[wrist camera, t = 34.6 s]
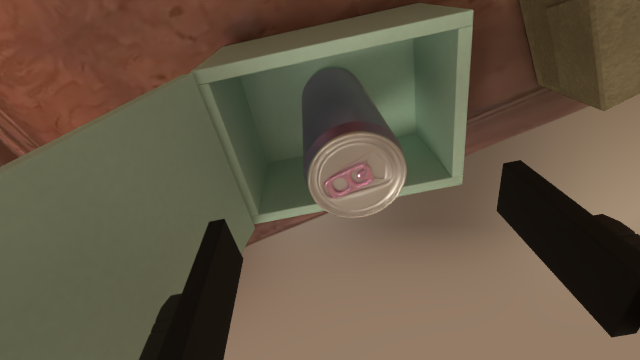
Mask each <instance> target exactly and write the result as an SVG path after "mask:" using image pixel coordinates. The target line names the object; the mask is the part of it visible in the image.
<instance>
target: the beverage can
mask: <svg viewBox="0 0 640 360" xmlns="http://www.w3.org/2000/svg"><path fill="white" fill-rule="evenodd" d="M302 132H303V168H304V178H305V181H306V184H307V186H308V188H309V192H310V194H311V196H312V198H313V199H314V201H315V202H316V203H317V204H318V205H319V206H320V207H321V208H322V209H324V210H325V211H327V212H328V213H330V214H333V215H335V216H339V217H344V218H360V217H366V216H370V215H373V214H375V213H377V212H379V211H381V210H383V209H385V208H386V207H387V206H389V205H390V204H391V203H392V202H393V201H394V200H395V199H396V198H397V197H398V195H399V194H400V192H401V191H402V189H403V186H404V184H405V181H406V175H407V167H406V162H405V158H404V152H403V149H402V146H401V144H400V142H399V141H398V139H397V138H396V136H395V135H394V133H393V132H392V130H391V129H390V127H389V126H388V124H387V123H386V121H385V119H384V118H383V116H382V115H381V113H380V112H379V110H378V109H377V107H376V106H375V104H374V103H373V101H372V100H371V98H370V97H369V95H368V94H367V92H366V90H365V89H364V87H363V86H362V84H361V83H360V81H359V80H358V79H357V77H356V76H354V75H353V74H352V73H350V72H349V71H347V70H344V69H340V68H328V69H324V70H321V71H319V72H318V73H316V74H315V75H313V76H312V77H311V78H310V79H309V81H308V82H307V83H306V85H305V87H304V90H303V93H302Z"/></svg>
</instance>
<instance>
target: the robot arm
mask: <svg viewBox="0 0 640 360" xmlns="http://www.w3.org/2000/svg"><path fill="white" fill-rule="evenodd" d="M497 212H498V213H499V214H500V215H501V216H502V217H503V218H504V219H505V220H506V222H508V224H509V225H510V226H511V227H512V228H513V229H514V230H515V231H516V232H517V234H518V235H519V236H520V237H521V238H522V239H523V240H524V241H525V242H526V244H527V245H528V246H529V247H530V248H531V249H532V250H533V251H534V252H535V254H536V255H537V256H538V257H539V258H540V259H541V260H542V261H543V262H544V263H545V265H547V267H548V268H549V269H550V270H551V271H552V272H553V273H554V274H555V276H556V277H557V278H558V279H559V280H560V281H561V282H562V283H563V284H564V285H565V287H566V288H567V289H568V290H569V291H570V292H571V293H572V294H573V295H574V296H575V298H576V299H577V300H578V301H579V302H580V303H581V304H582V305H583V306H584V308H585V309H586V310H587V311H588V312H589V313H590V314H591V315H592V316H593V317H594V319H595V320H596V321H597V322H598V323H599V324H600V325H601V326H602V327H603V329H604V330H605V331H606V332H607V333H608V334H609V335H610V336H611V337H617V336H623V335H629V334H634V333H637V331H638V330H639V328H640V235H638V234H635V232H634V231H633V230H631V229H630V228H628V227H627V226H626V225H624V224H623V223H621V222H620V221H618V220H615V219H613V218H610V217H608V216H606V215H604V214H599V215H594V216H593V215H592V214H590V213H589V212H588V211H587V210H585V209H584V208H582V207H581V206H580V205H579V204H577V203H576V202H575V201H573V200H572V199H571V198H569V197H568V196H567V195H565V194H564V193H563V192H562V191H560V190H559V189H557V188H556V187H555V186H554V185H552V184H551V183H549V182H548V181H547V180H546V179H544V178H543V177H542V176H540V175H539V174H538V173H536V172H535V171H534V170H533V169H531V168H530V167H529V166H527V165H526V164H525V163H523V162H522V161H521V160H519V161H514V162H509V163H504V164H503V169H502V176H501V184H500V191H499V197H498V205H497ZM242 263H243V257H242V255H241V253H240V251H239V249H238V246H237V244H236V242H235V240H234V238H233V236H232V234H231V231H230V229H229V227H228V225H227V223H226V221H225V219H220V220H215V221H210V222H209V223H208V226H207V228H206V231H205V234H204V236H203V239H202V242H201V244H200V247H199V249H198V252H197V255H196V257H195V260H194V263H193V265H192V268H191V271H190V273H189V276H188V279H187V281H186V284H185V287H184V289H183V292H182V293H181V294H176V295H171V296H170V297H169V298H168V299H167V301H166V302H165V303H164V304H163V306H162V307H161V308H160V311H159V313H158V315H157V318H156V320H155V323H154V325H153V327H152V329H151V334H149V336H148V339H147V341H146V343H145V346H144V348H143V351H142V353H141V355H140V358H139V360H223V359H224V353H225V349H226V344H227V339H228V334H229V328H230V323H231V318H232V313H233V308H234V303H235V298H236V293H237V288H238V283H239V278H240V273H241V267H242Z"/></svg>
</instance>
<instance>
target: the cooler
mask: <svg viewBox="0 0 640 360" xmlns="http://www.w3.org/2000/svg"><path fill="white" fill-rule="evenodd" d="M472 25H473V10H472V9H464V8H456V7H448V6H440V5H432V4H424V3H415V4H411V5H407V6H402V7H398V8H393V9H389V10H384V11H380V12H375V13H371V14H366V15H362V16H357V17H353V18H348V19H344V20H339V21H335V22H330V23H326V24H322V25H317V26H313V27H308V28H304V29H299V30H295V31H290V32H286V33H281V34H277V35H272V36H268V37H263V38H259V39H254V40H250V41H246V42H241V43H237V44H232V45H228V46H223V47H222V48H220V49H219V50H218V51H216V52H215V53H214V54H213V55H211V56H210V57H209V58H207V59H206V60H205V61H204V62H202V63H201V64H200V65H198V66H197V67H196V68H195V69H193V70H192V71H191V72H190V73H192V75H193V77H194V80H195V82H196V85H197V87H198V89H199V92H200V94H201V97H202V99H203V102H204V104H205V107H206V109H207V112H208V114H209V117H210V119H211V121H212V124H213V126H214V129H215V131H216V134H217V136H218V139H219V141H220V144H221V146H222V149H223V151H224V153H225V156H226V158H227V161H228V163H229V166H230V168H231V171H232V173H233V176H234V178H235V181H236V183H237V185H238V188H239V190H240V193H241V195H242V198H243V200H244V203H245V205H246V208H247V210H248V212H249V215H250V217H251V220H252V222H253V224H257V223H263V222H268V221H273V220H278V219H283V218H289V217H294V216H299V215H304V214H310V213H315V212H320V211H325V210H324V209H322V208H321V207H320V206H319V205H318V204H317V203H316V202H315V201H314V199H313V198H312V196H311V194H310V192H309V188H308V186H307V184H306V181H305V178H304V168H303V132H302V93H303V90H304V87H305V85H306V83H307V82H308V81H309V79H310V78H311V77H312V76H313V75H315V74H316V73H318V72H319V71H321V70H324V69H328V68H340V69H344V70H347V71H349V72H350V73H352V74H353V75H354V76H356V77H357V79H358V80H359V81H360V83H361V84H362V86H363V87H364V89H365V90H366V92H367V94H368V95H369V97H370V98H371V100H372V101H373V103H374V104H375V106H376V107H377V109H378V110H379V112H380V113H381V115H382V116H383V118H384V119H385V121H386V123H387V124H388V126H389V127H390V129H391V130H392V132H393V133H394V135H395V136H396V138H397V139H398V141H399V142H400V144H401V146H402V149H403V152H404V158H405V162H406V167H407V175H406V181H405V184H404V186H403V189H402V191H401V192H400V194H399V195H398V196H403V195H409V194H414V193H419V192H424V191H429V190H434V189H440V188H445V187H450V186H456V185H461V184H462V179H463V176H462V175H463V167H464V152H465V137H466V122H467V107H468V91H469V76H470V61H471V45H472V30H473V26H472Z"/></svg>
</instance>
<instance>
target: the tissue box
mask: <svg viewBox="0 0 640 360" xmlns="http://www.w3.org/2000/svg"><path fill="white" fill-rule="evenodd" d="M519 2H520V6H521V11H522V15H523V20H524V24H525V28H526V33H527V37H528V42H529V46H530V51H531V55H532V59H533V64H534V68H535V73H536V77H537V81H538V85H540V86H543V87H545V88H548V89H550V90H553V91H555V92H558V93H560V94H563V95H565V96H567V97H570V98H572V99H575V100H577V101H580V102H582V103H585V104H587V105H590V106H592V107H595V108H598V109H600V110H603V111H605V110H607V109H609V108H611V107H613V106H615V105H617V104H619V103H621V102H623V101H625V100H627V99H629V98H631V97H633V96H635V95H637V94H639V93H640V0H519Z"/></svg>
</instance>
